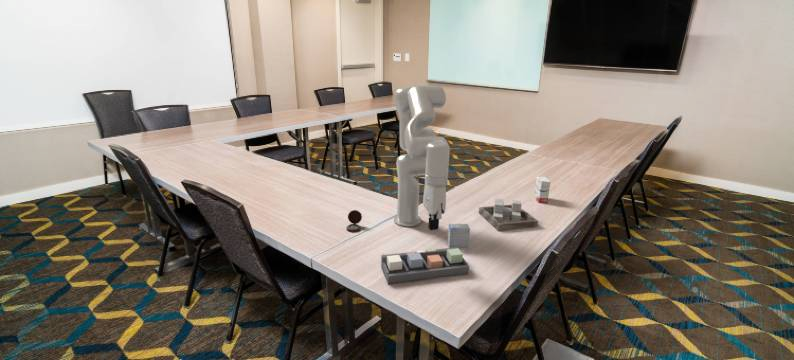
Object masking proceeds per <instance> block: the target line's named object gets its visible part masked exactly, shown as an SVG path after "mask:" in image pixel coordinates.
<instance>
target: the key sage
mask: <svg viewBox="0 0 794 360" xmlns="http://www.w3.org/2000/svg"><path fill="white" fill-rule="evenodd" d="M458 248H459V247H458ZM458 248H456V249H447V256H446V257H447V259H448V260H449V262H450V263H459V262H462V259H463V258H464V254H463V252H462V251H461V250H460V248H459V249H458Z"/></svg>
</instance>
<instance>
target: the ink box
mask: <svg viewBox="0 0 794 360" xmlns="http://www.w3.org/2000/svg"><path fill="white" fill-rule="evenodd" d="M550 187H551V181H550V179H548V178H547V177H546V176H536V180H535V187H534V191H533V198H534V200H536V201H537V203H539V204H540V203H541V204H548V201H549V194H550Z"/></svg>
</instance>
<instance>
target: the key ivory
mask: <svg viewBox="0 0 794 360" xmlns="http://www.w3.org/2000/svg"><path fill="white" fill-rule="evenodd" d="M387 266H388V268H389V270H390V271H391V270H399V269H402V260H401V258H400V256H399V255H392V256H387Z"/></svg>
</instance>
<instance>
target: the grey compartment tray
mask: <svg viewBox="0 0 794 360" xmlns="http://www.w3.org/2000/svg"><path fill="white" fill-rule="evenodd" d="M456 248H458V249H459V250H460V247H447V248H436V249H435V248H432V249H426V250H425V249H423V250H416V251H414V250H413V251H406V252H398V253H391V254H390V253H389V254H382V255H380V259H381V261H380V268H381V270H382V273H383V276H384V278H385V280H386V284H387V285H394V284H401V283H402V284H403V283H410V282H411V283H412V282H418V281H425V280H434V279H441V278H450V277H458V276H466V275H469V274H470V265H469V264H468V262H467V260H466V259H464V257H463V259H462V262H459V263H450V262H449V260H448V259H447V257H446V256H447V249H456ZM411 253H420V255H421V256H422V258H423V267H416V268H410V266H409V264H408V262H407V254H411ZM392 255H399V256H400V258H401V260H402V269H399V270H391V271H390V270H389V268H388V266H387V256H392ZM430 255H439V256H440V257H441V259H442V260H443V267H442V268H436V269H430V268H429V266H428V265H427V256H430Z"/></svg>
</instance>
